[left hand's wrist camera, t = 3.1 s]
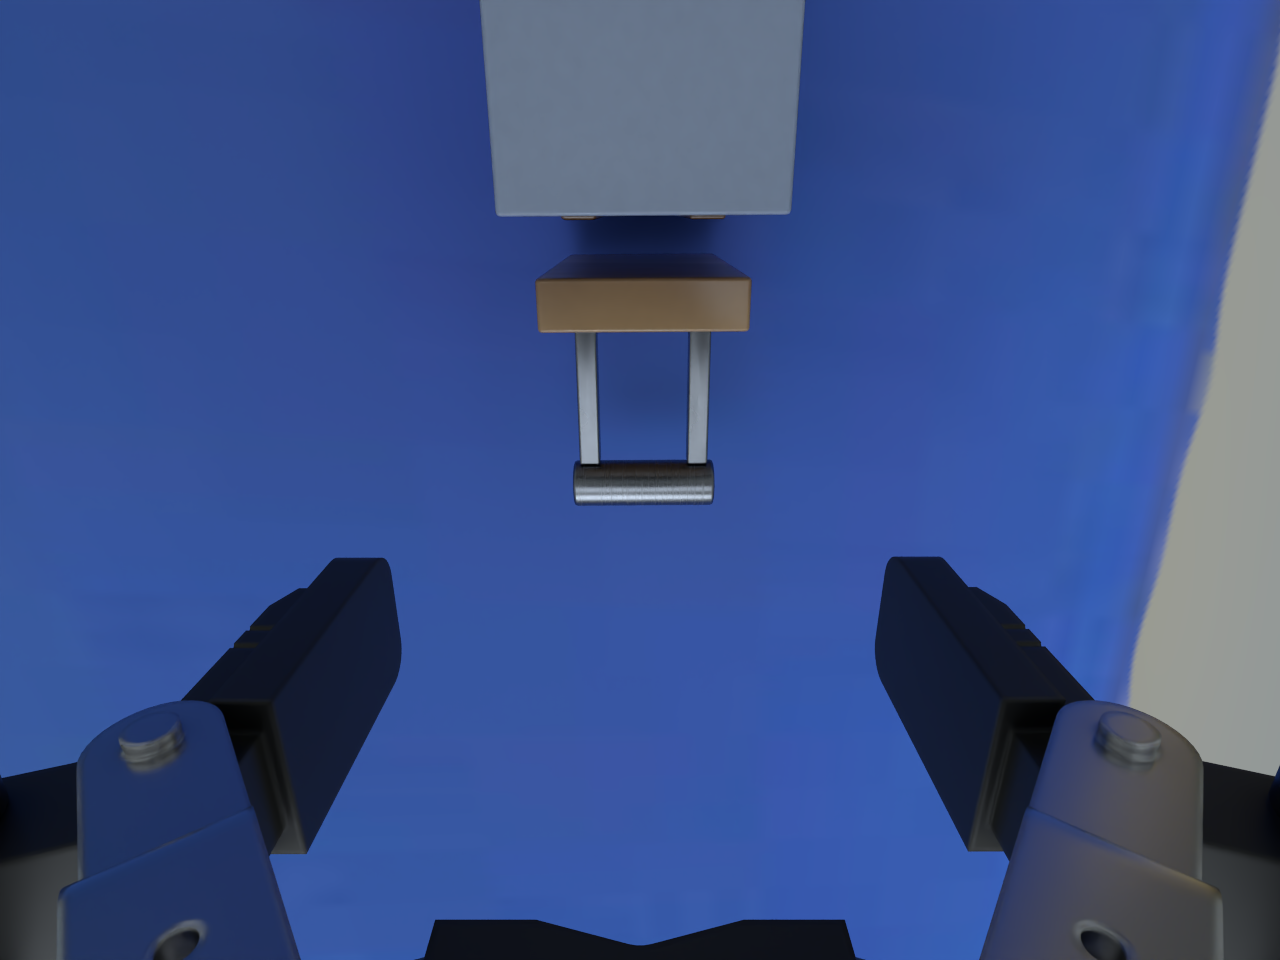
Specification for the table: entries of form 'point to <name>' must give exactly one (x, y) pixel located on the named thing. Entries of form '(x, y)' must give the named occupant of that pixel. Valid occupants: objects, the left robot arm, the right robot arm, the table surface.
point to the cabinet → (642, 105)
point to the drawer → (643, 302)
